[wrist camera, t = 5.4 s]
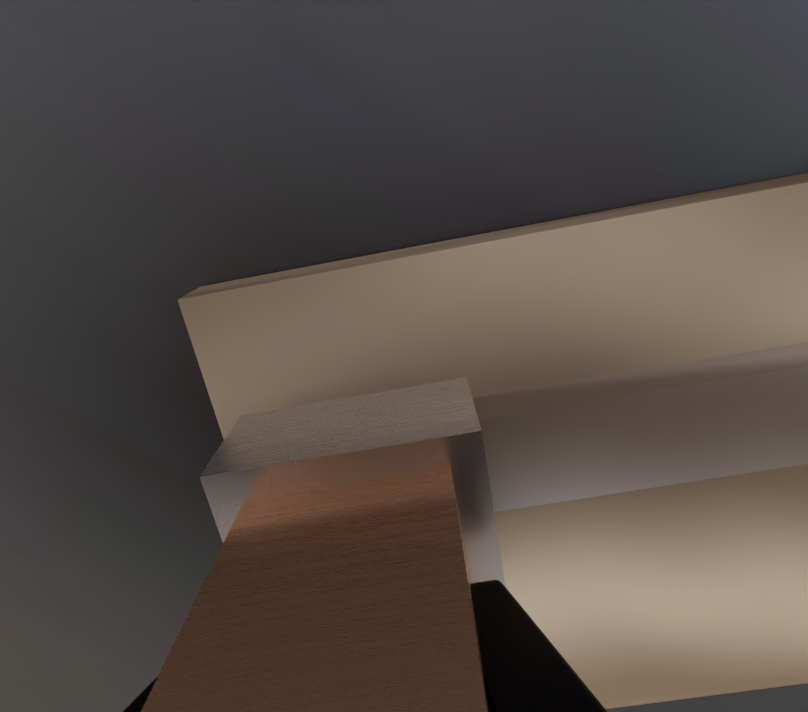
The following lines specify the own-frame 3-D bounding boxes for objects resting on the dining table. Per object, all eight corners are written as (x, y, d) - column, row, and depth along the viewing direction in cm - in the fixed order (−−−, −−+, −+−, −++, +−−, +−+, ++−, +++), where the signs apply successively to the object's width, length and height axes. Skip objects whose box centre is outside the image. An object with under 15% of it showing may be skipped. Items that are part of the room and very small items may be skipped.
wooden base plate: (1008, 611, 14) (1270, 804, 10) (330, 701, 15) (300, 910, 11) (1121, 113, 10) (1638, 73, 6) (200, 286, 11) (75, 357, 7)
